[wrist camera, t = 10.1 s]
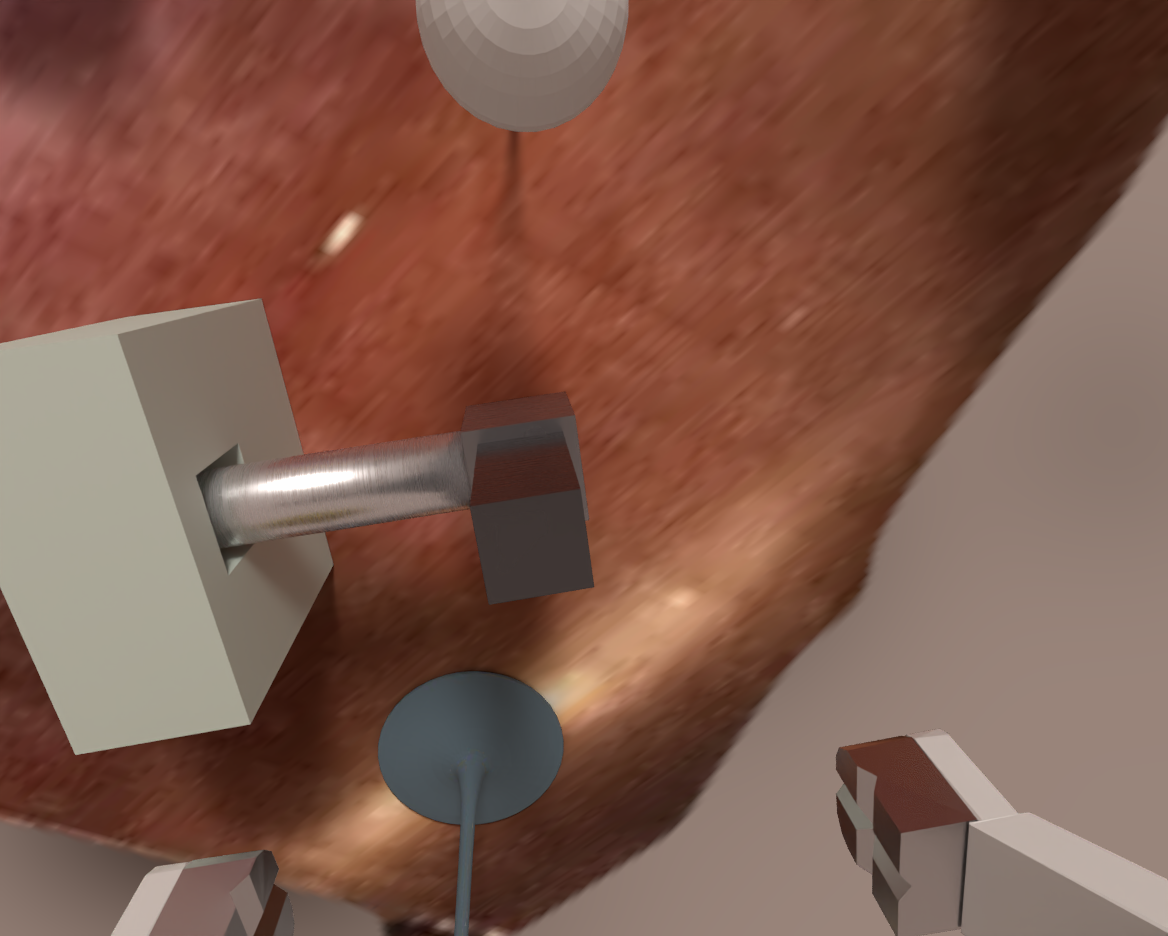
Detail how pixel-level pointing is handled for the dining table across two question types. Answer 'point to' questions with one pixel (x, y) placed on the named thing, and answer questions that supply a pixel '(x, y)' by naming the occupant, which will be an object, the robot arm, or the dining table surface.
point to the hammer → (434, 493)
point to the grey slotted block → (147, 522)
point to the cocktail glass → (470, 756)
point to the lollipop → (523, 56)
